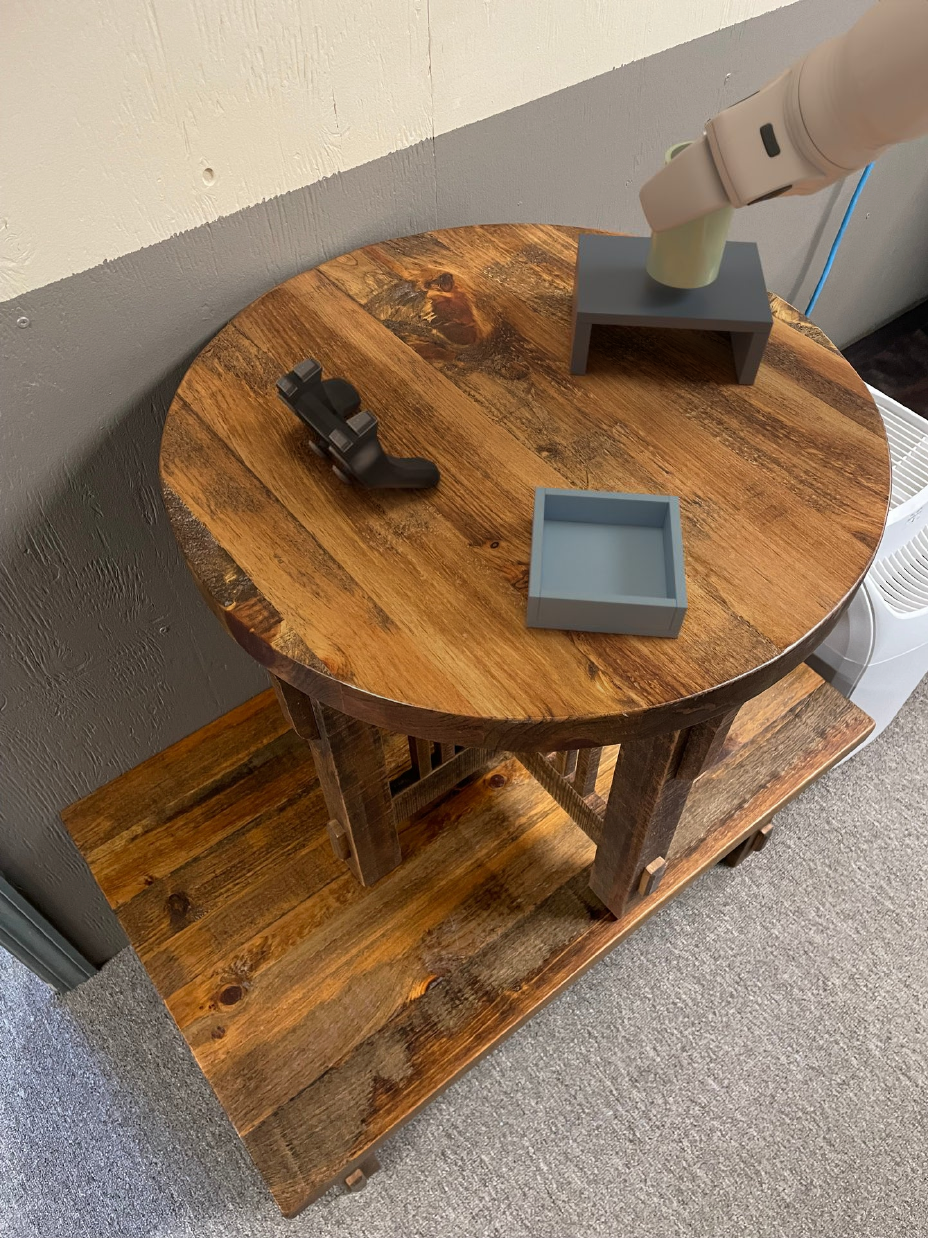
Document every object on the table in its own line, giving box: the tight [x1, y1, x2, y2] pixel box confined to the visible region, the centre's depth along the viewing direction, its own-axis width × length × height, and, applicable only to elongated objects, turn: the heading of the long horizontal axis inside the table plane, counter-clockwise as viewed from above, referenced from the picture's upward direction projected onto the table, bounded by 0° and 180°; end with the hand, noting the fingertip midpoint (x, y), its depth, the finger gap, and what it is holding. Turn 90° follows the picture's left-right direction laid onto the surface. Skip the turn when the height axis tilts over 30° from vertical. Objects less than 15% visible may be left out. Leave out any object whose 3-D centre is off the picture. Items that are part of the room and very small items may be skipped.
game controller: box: [275, 357, 441, 491], centre depth 75 cm, size 16×7×10 cm, turn 37°
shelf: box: [569, 233, 775, 386], centre depth 87 cm, size 18×14×7 cm
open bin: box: [525, 486, 689, 639], centre depth 68 cm, size 12×12×4 cm
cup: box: [645, 140, 736, 289], centre depth 77 cm, size 7×7×10 cm
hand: (690, 202), depth 77 cm, fingers closed on cup, 7 cm apart
